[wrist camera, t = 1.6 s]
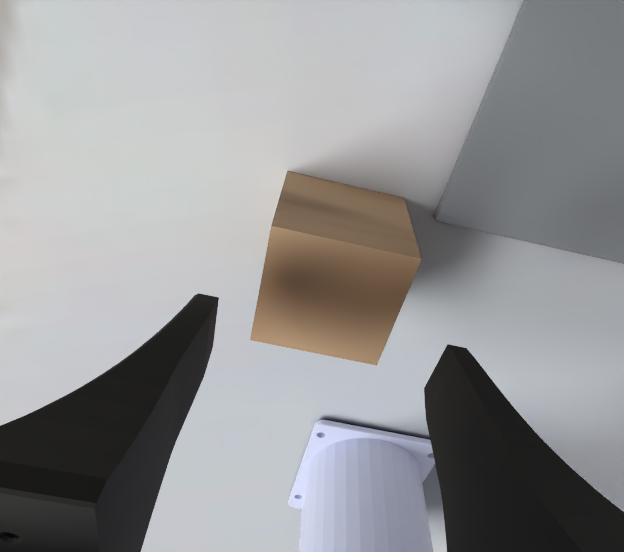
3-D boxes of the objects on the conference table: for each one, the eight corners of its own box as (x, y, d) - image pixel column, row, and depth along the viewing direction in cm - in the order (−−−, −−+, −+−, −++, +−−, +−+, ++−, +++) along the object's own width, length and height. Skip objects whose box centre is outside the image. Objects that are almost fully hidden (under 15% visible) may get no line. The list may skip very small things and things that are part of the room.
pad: (649, 265, 20) (654, 270, 19) (434, 216, 19) (435, 220, 18) (848, 8, 14) (860, 8, 14) (555, -75, 13) (560, -77, 13)
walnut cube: (370, 290, 21) (376, 365, 17) (268, 269, 21) (250, 339, 17) (403, 197, 19) (421, 258, 14) (287, 170, 18) (271, 225, 14)
